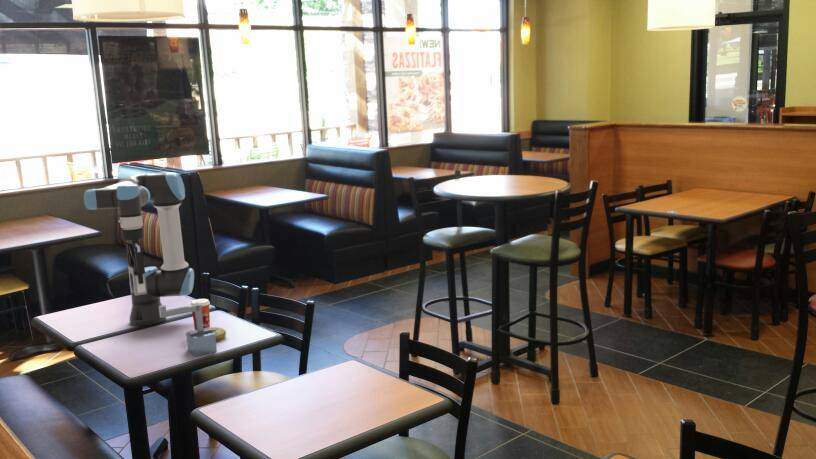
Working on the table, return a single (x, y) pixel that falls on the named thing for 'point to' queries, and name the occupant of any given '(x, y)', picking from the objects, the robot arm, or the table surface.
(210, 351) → the hook
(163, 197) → the robot arm
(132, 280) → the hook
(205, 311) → the paper cup
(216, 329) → the decorated donut
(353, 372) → the table surface
